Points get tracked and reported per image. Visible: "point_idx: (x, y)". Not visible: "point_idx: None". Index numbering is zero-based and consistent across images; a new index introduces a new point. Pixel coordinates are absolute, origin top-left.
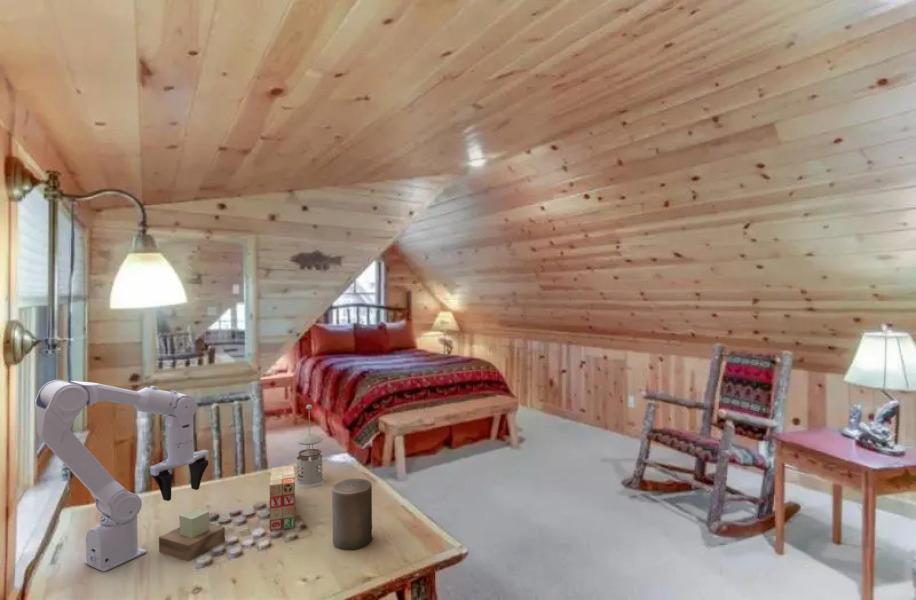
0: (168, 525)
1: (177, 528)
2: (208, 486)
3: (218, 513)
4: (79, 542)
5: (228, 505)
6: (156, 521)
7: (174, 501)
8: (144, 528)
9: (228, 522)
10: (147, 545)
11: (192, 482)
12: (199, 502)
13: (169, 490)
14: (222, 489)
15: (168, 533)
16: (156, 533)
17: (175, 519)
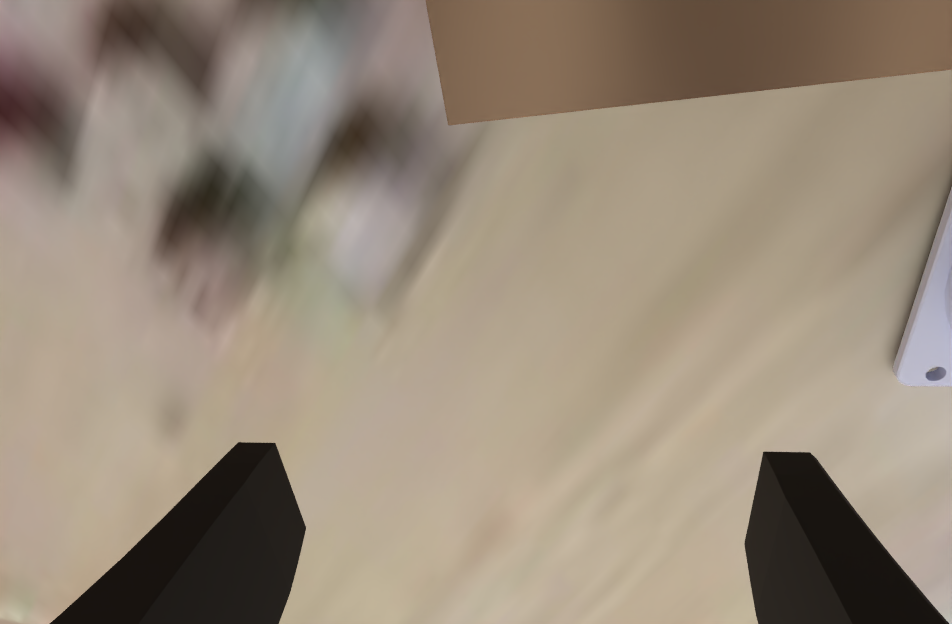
0: (518, 395)
1: (722, 91)
2: None
3: (154, 259)
4: (941, 608)
5: (43, 314)
6: (527, 497)
7: (311, 606)
8: (635, 479)
9: (140, 5)
10: (839, 241)
11: (261, 610)
12: None
13: (897, 619)
14: (19, 529)
15: (876, 56)
16: (649, 359)
17: (433, 430)
